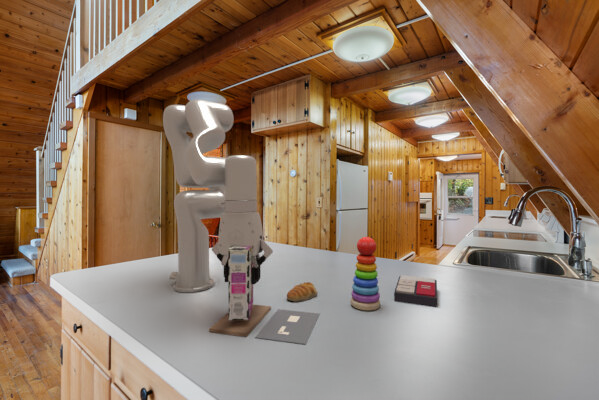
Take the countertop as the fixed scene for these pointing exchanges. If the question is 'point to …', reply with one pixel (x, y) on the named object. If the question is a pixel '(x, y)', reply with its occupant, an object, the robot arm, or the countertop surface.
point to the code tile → (289, 326)
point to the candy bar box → (239, 283)
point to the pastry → (302, 292)
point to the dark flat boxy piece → (416, 291)
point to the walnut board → (240, 322)
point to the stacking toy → (365, 277)
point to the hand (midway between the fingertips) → (242, 280)
